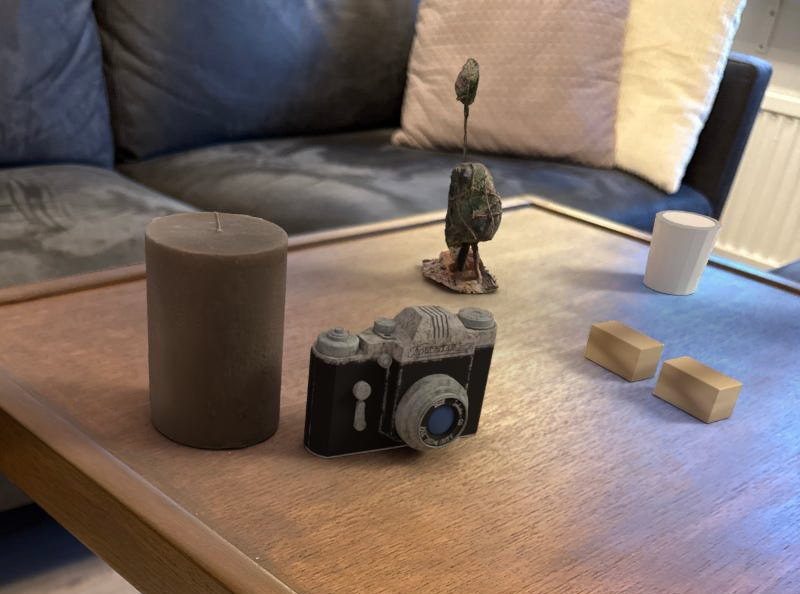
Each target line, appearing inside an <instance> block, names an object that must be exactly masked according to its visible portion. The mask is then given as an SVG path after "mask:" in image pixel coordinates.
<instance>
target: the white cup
mask: <svg viewBox="0 0 800 594" xmlns="http://www.w3.org/2000/svg"><path fill="white" fill-rule="evenodd" d="M654 218H655V220H654V223H653V229H652V232H651V233H652V234H651V238H650V245H649V249H648V253H647V260H646V265H645V269H644V275H643V285H645V286H646V287H647V288H649V289H652V290H653V291H656V292H659V293H663V294H668V295H672V296H673V295H674V296H688V295H692V294H694V293H695V292H696V291H697V288H698V286H699V283H700V281H701V278H702V277H703V274H704V271H705V269H706V267H707V265H708V262H709V260H710V257H711V255H712V252H713V250H714V248H715V246H716V243H717V242H718V238H719V236H720V233H721V231H722V229H723V224H722V222H720V221H719V220H717V219H715V218H713V217H710V216H707V215H705V214H700V213H697V212H691V211H686V210H685V211H684V210H674V209H671V210H669V209H668V210H660V211H659V212H656V214H655V217H654Z"/></svg>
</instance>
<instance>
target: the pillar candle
mask: <svg viewBox="0 0 800 594" xmlns="http://www.w3.org/2000/svg"><path fill="white" fill-rule="evenodd" d="M288 248H289V236H288V233H287V232H286V230H285V229H284V228H282V227H280V226H279V225H278V224H275V223H274V222H272V221H271V222H270V221H268V220H265V219H264V218H262V217H254V216H252V215H247V214H242V213H241V214H240V213H239V214H238V213H234V214H233V213H228V212H226V213H225V212H217V211H215V210H214V211H196V212H182V213H180V212H179V213H173V214H170V215H164V216H158V217H154V218H152V219H151V220H150V222H148V224H147V225H146V226H145V228H144V254H145V255H144V256H145V257H144V258H145V279H146V282H145V283H146V284H145V286H146V314H147V315H146V317H147V319H146V320H147V347H148V348H147V362H148V392H149V404H150V405H149V408H150V411H149V413H150V420H151V421H152V424H153V426H154V427H155V429H157V430H158V431H159V432H160V433H162V434H163V435H164V436H166V437H167V438H168V439H171V440H173V441H174V442H177V443H179V444H183V445H186V446H190V447H194V448H197V449H198V448H201V449H213V450H214V449H215V450H219V449H229V448H232V449H233V448H234V449H238V448H246V447H252V446H254V445H256V444H258V443H260V442H262V441H264V440H266V439H268V438H269V437H271V436H272V435H273V434H275V433H276V431H277V429H278V427H279V425H280V414H281V396H282V395H281V394H282V393H281V392H282V375H283V358H284V357H283V355H284V334H285V317H286V315H285V314H286V297H287V296H286V295H287V293H286V292H287V276H288V275H287V274H288V251H289V249H288Z"/></svg>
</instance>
